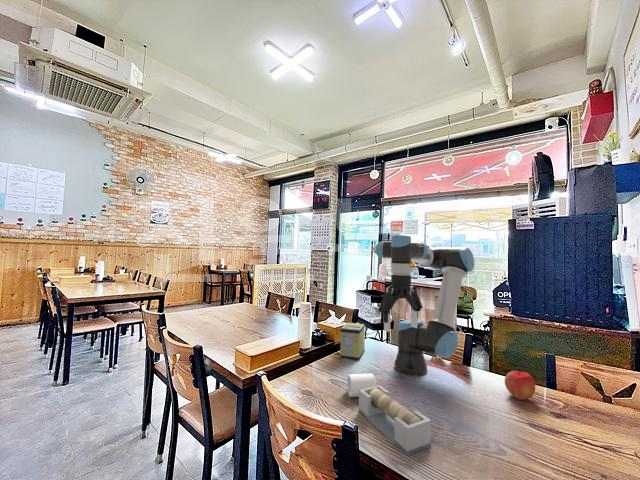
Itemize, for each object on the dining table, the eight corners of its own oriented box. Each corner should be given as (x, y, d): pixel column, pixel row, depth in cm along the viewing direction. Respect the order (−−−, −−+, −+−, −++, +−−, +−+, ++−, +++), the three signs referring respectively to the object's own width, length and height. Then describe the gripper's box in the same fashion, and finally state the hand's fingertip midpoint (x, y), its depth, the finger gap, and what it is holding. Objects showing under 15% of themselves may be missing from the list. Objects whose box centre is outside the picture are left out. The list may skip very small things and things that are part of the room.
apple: (531, 395, 113) (531, 369, 113) (538, 407, 104) (537, 379, 105) (503, 390, 117) (502, 365, 117) (507, 401, 108) (507, 374, 109)
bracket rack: (379, 405, 104) (379, 385, 104) (430, 446, 82) (430, 420, 83) (358, 411, 100) (359, 390, 100) (407, 456, 78) (407, 428, 79)
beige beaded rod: (369, 404, 99) (368, 390, 99) (380, 400, 102) (379, 386, 102) (410, 438, 82) (409, 421, 82) (423, 432, 84) (422, 415, 84)
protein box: (364, 351, 161) (364, 323, 162) (359, 361, 146) (359, 330, 147) (346, 348, 165) (347, 321, 165) (340, 358, 150) (340, 328, 151)
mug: (376, 400, 108) (376, 378, 109) (351, 401, 107) (351, 380, 107) (367, 385, 120) (367, 366, 120) (344, 386, 119) (344, 367, 119)
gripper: (417, 272, 119) (417, 323, 118) (369, 274, 108) (369, 330, 107) (431, 274, 113) (432, 327, 112) (381, 276, 102) (381, 335, 101)
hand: (401, 329), depth 110 cm, fingers open, 13 cm apart
